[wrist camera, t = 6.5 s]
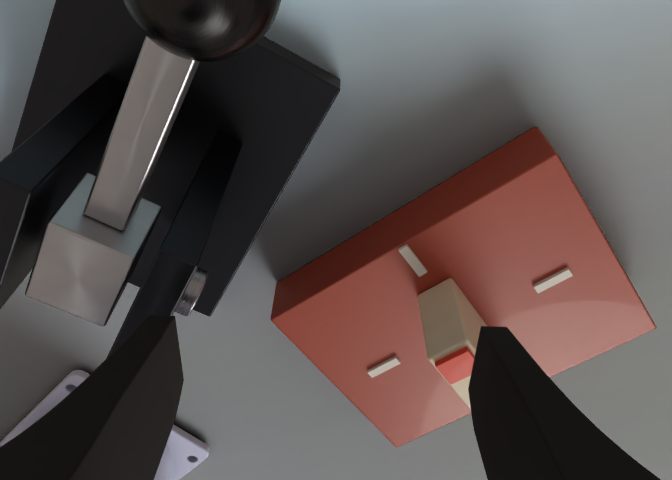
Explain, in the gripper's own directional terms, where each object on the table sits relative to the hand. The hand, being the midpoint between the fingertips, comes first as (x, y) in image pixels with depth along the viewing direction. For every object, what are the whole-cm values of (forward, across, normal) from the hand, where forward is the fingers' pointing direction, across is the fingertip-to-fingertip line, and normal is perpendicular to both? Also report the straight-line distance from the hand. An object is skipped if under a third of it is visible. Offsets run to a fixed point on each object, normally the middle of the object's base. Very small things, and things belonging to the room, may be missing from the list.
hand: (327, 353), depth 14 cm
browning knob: (+7, -5, +5) cm, 10 cm away
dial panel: (+10, -5, +5) cm, 12 cm away
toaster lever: (+4, +4, -5) cm, 8 cm away
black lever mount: (+10, +6, -1) cm, 12 cm away
